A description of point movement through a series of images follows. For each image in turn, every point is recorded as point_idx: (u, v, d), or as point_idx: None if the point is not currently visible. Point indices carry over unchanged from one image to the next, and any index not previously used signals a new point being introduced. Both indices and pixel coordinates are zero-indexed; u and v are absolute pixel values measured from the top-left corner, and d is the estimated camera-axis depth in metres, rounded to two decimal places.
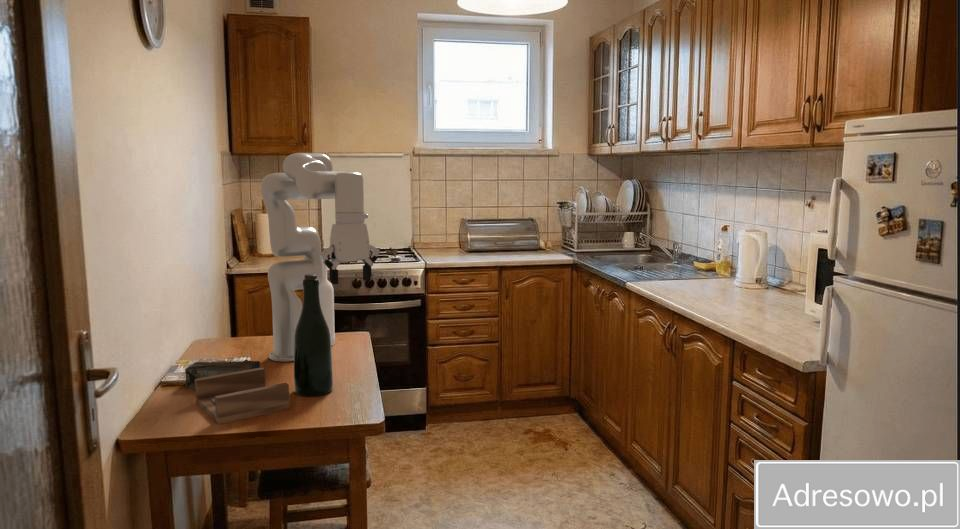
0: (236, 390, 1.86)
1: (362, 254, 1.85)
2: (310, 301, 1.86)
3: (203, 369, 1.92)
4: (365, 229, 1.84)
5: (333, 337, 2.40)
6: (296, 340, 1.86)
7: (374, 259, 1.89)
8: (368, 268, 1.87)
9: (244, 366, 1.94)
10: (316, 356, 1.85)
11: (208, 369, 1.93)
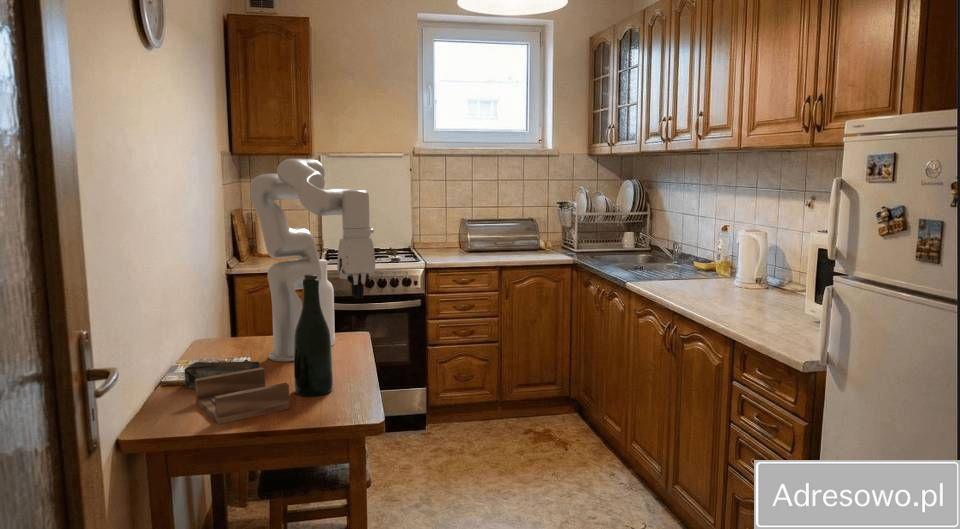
0: (236, 390, 1.86)
1: (368, 267, 1.95)
2: (310, 301, 1.86)
3: (202, 369, 1.92)
4: (371, 243, 1.95)
5: (333, 337, 2.40)
6: (296, 340, 1.86)
7: (366, 277, 1.96)
8: (360, 286, 1.95)
9: (243, 366, 1.93)
10: (316, 356, 1.85)
11: (207, 369, 1.92)
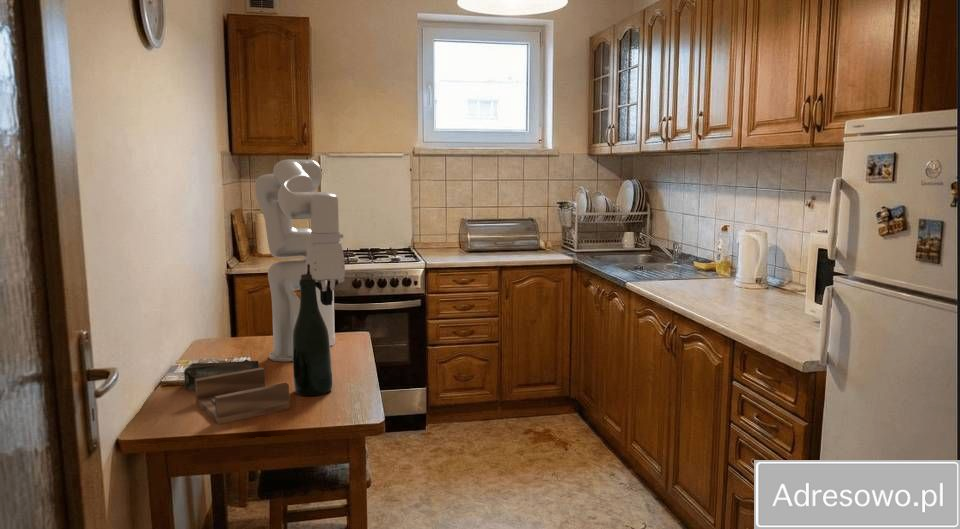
0: (236, 390, 1.86)
1: (337, 273, 1.90)
2: (307, 301, 1.85)
3: (202, 370, 1.92)
4: (340, 249, 1.89)
5: (333, 337, 2.40)
6: (294, 340, 1.86)
7: (335, 283, 1.91)
8: (329, 292, 1.89)
9: (244, 366, 1.94)
10: (315, 356, 1.85)
11: (208, 370, 1.92)
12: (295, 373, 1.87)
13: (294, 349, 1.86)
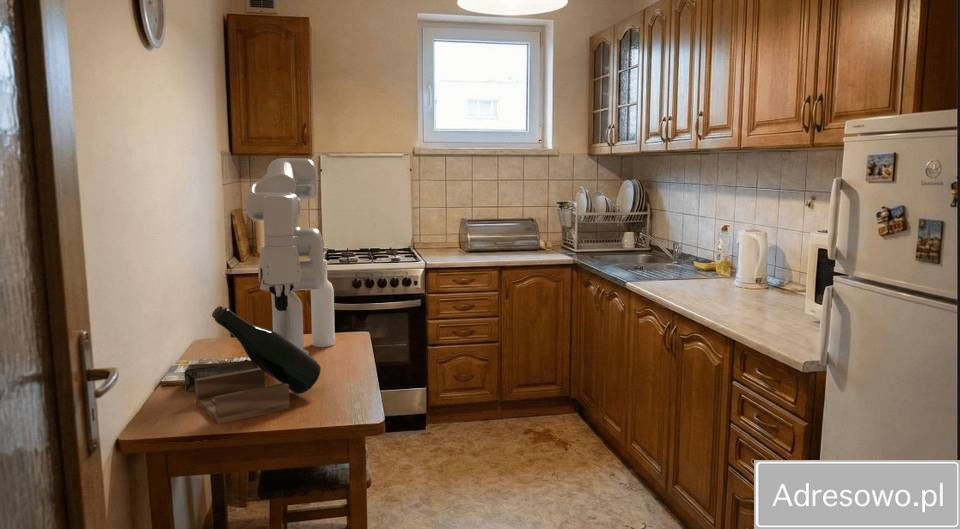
0: (236, 390, 1.86)
1: (292, 278, 1.82)
2: (236, 331, 1.74)
3: (203, 371, 1.91)
4: (295, 252, 1.81)
5: (333, 337, 2.40)
6: (256, 364, 1.80)
7: (290, 288, 1.83)
8: (284, 298, 1.82)
9: (246, 365, 1.94)
10: (283, 365, 1.80)
11: (209, 370, 1.91)
12: (280, 383, 1.85)
13: (262, 369, 1.81)
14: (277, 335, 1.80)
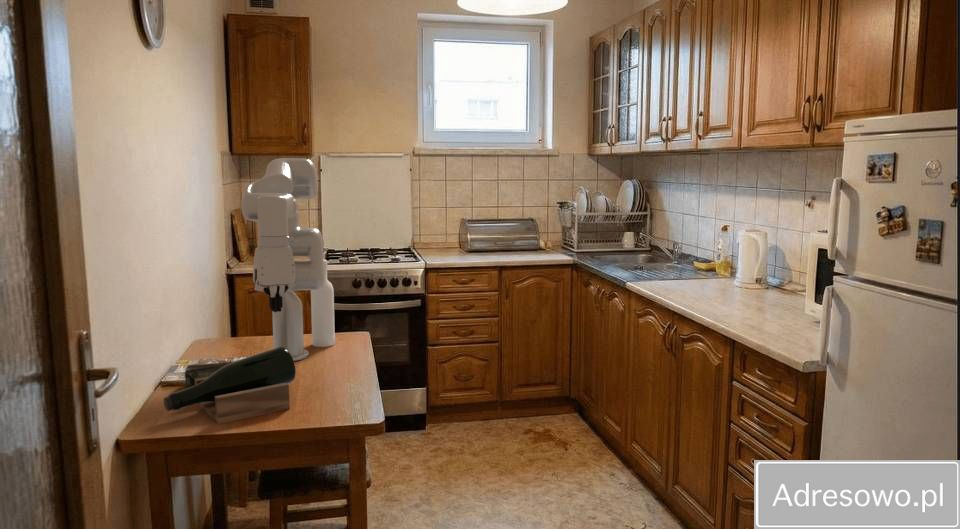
0: None
1: (287, 278, 1.81)
2: (197, 397, 1.70)
3: (204, 371, 1.90)
4: (290, 253, 1.80)
5: (333, 337, 2.40)
6: None
7: (285, 289, 1.82)
8: (278, 298, 1.81)
9: None
10: (256, 375, 1.78)
11: (210, 371, 1.91)
12: None
13: None
14: (226, 366, 1.78)
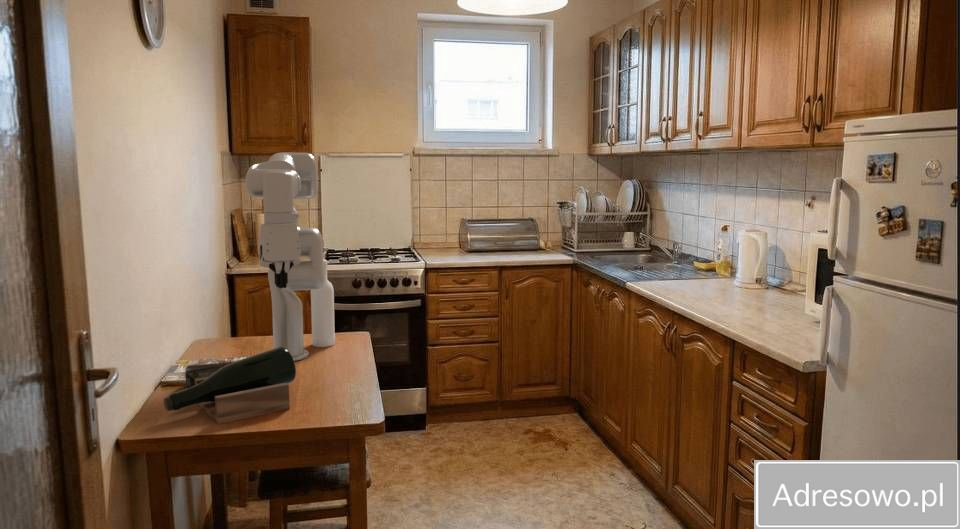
0: None
1: (292, 255, 1.81)
2: (197, 397, 1.70)
3: (204, 372, 1.90)
4: (295, 229, 1.81)
5: (333, 337, 2.40)
6: None
7: (290, 265, 1.83)
8: (284, 275, 1.81)
9: None
10: (256, 375, 1.78)
11: (210, 371, 1.91)
12: None
13: None
14: (226, 366, 1.77)
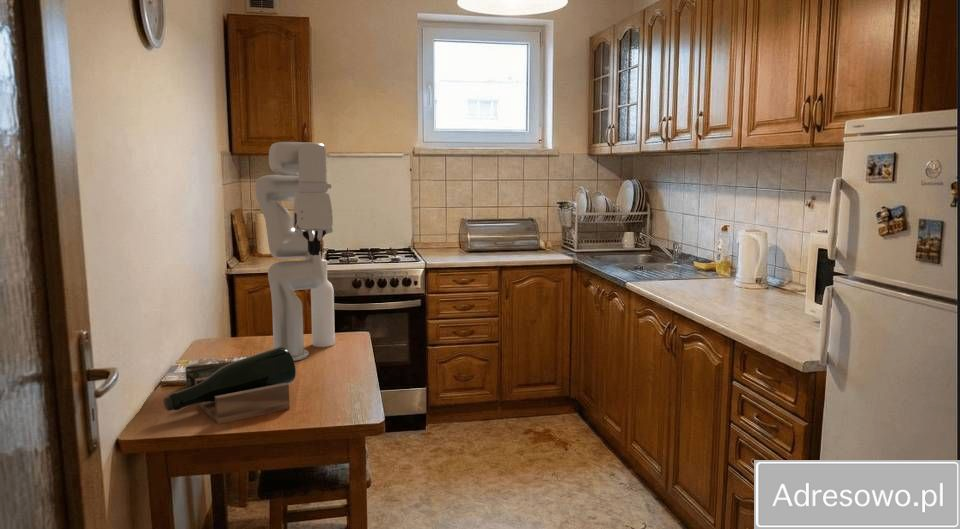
0: None
1: (325, 223, 1.89)
2: (197, 397, 1.70)
3: (205, 372, 1.90)
4: (328, 199, 1.89)
5: (333, 337, 2.40)
6: None
7: (323, 234, 1.91)
8: (316, 242, 1.89)
9: None
10: (256, 375, 1.78)
11: (211, 371, 1.91)
12: None
13: None
14: (226, 366, 1.77)
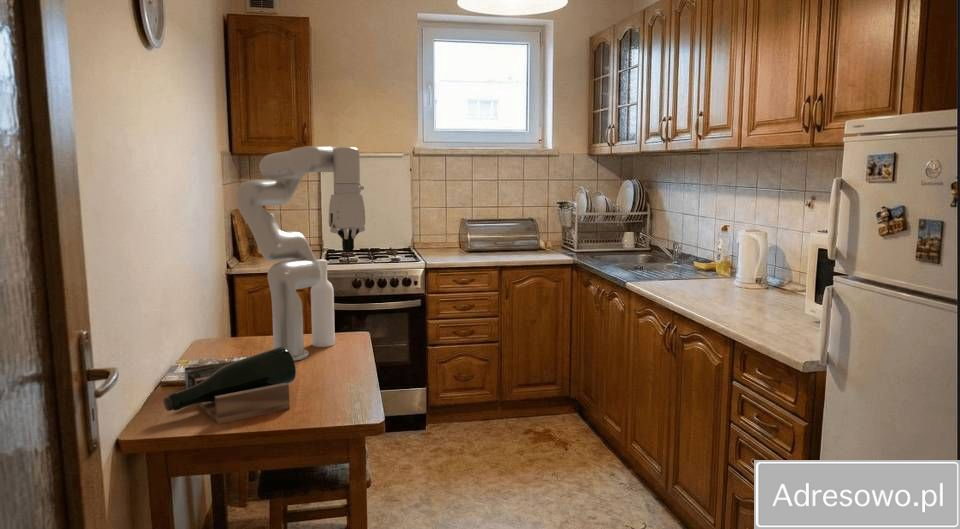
0: None
1: (358, 222, 2.02)
2: (197, 397, 1.70)
3: (206, 372, 1.90)
4: (361, 199, 2.01)
5: (333, 337, 2.40)
6: None
7: (356, 232, 2.03)
8: (351, 240, 2.02)
9: None
10: (256, 375, 1.78)
11: (212, 371, 1.90)
12: None
13: None
14: (226, 366, 1.77)
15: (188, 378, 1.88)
